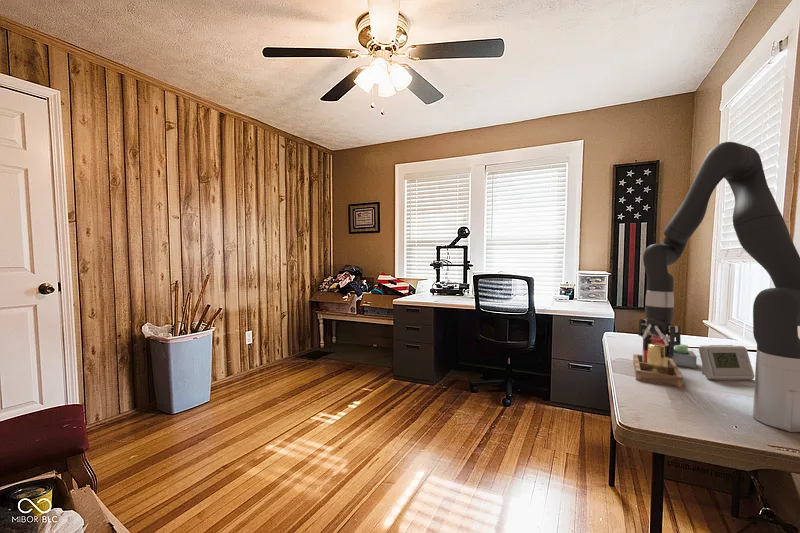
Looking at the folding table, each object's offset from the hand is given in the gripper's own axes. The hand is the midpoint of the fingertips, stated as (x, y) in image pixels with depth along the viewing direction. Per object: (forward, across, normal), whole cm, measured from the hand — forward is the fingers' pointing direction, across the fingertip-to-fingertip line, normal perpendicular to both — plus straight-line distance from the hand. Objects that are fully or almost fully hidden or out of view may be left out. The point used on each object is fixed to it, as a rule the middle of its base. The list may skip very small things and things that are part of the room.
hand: (657, 353), depth 116 cm
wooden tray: (+8, +5, -4) cm, 10 cm away
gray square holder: (+8, +14, -22) cm, 27 cm away
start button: (+4, +14, -22) cm, 27 cm away
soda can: (+8, +9, -7) cm, 14 cm away
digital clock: (+8, 0, -24) cm, 26 cm away
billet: (+8, 0, 0) cm, 8 cm away
